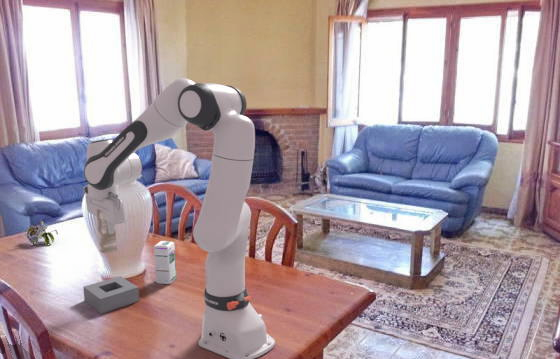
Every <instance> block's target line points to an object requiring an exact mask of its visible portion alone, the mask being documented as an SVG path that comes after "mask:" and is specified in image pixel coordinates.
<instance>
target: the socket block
mask: <svg viewBox="0 0 560 359" xmlns="http://www.w3.org/2000/svg"><path fill="white" fill-rule="evenodd" d="M83 298H84V302H85V303H87V304H88V305H89V306H91V308H93V309H95V310H96V311H97V312H99V313H100V314H102V315H103V314H106V313H108V312H111V311H114V310H117V309H120V308H123V307H126V306H129V305H131V304H132V305H133V304H136V303H137V302H138V303H139V301H140V291H139V286H138V285H136V284H134V283H132V282H131V281H130V280H128V279H126V278H124V277H122V276H121V275H119V276H115V277H112V278H109V279H105V280H101V281H99V282H95V283H92V284H91V283H90V284H87V285H84V286H83Z"/></svg>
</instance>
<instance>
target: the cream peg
mask: <svg viewBox="0 0 560 359" xmlns="http://www.w3.org/2000/svg"><path fill="white" fill-rule="evenodd" d="M96 220H97V232H98V234H97V235H98V249H99V252H100V253H103V254H105V255H106V254H111V253H115V252H117V251H118V248H117V234H116V233H117V232H116V231H117V230H116V226H115V227H114V233H113V234H108V233H107V228H108V224H107V221H106V220H104V219H103V212H102V211H100V210H98V209H97V216H96Z"/></svg>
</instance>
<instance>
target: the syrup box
mask: <svg viewBox="0 0 560 359" xmlns="http://www.w3.org/2000/svg"><path fill="white" fill-rule="evenodd" d="M153 253H154V254H153V256H154V269H155V272H154V273H155V281H156V282H155V283H156V284H160V285H161V284H162V285H171V284H172V283H173V282H174V281H176V280H177V277H178V275H177V262H176V261H177V260H176V246H175V241H173V240H171V241H170V240H160V241H159V242H158V243H156V244H155V245H153Z"/></svg>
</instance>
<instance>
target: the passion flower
mask: <svg viewBox="0 0 560 359" xmlns="http://www.w3.org/2000/svg"><path fill="white" fill-rule="evenodd" d="M44 223H45V222H44V221H42V220H41V221H40V223H36V224H34V225H30V226H29V227H28V228H27V230H26V234H25V237H26V238H27V239H28V241H29V242H31V243H32V244H34V245H37V243H38V242H39V239H43V240H44V241H45V245H47V244H50V241H51V242H52V243H54V241H55V237H54V235H53V232H54V231H55V233H56V235H59V233H58V231H57V229H53V230H51V232H50V231H48V232H46V230H47V229H48V226H47V225H46V226H45V225H44ZM31 243H30V244H31Z"/></svg>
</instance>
